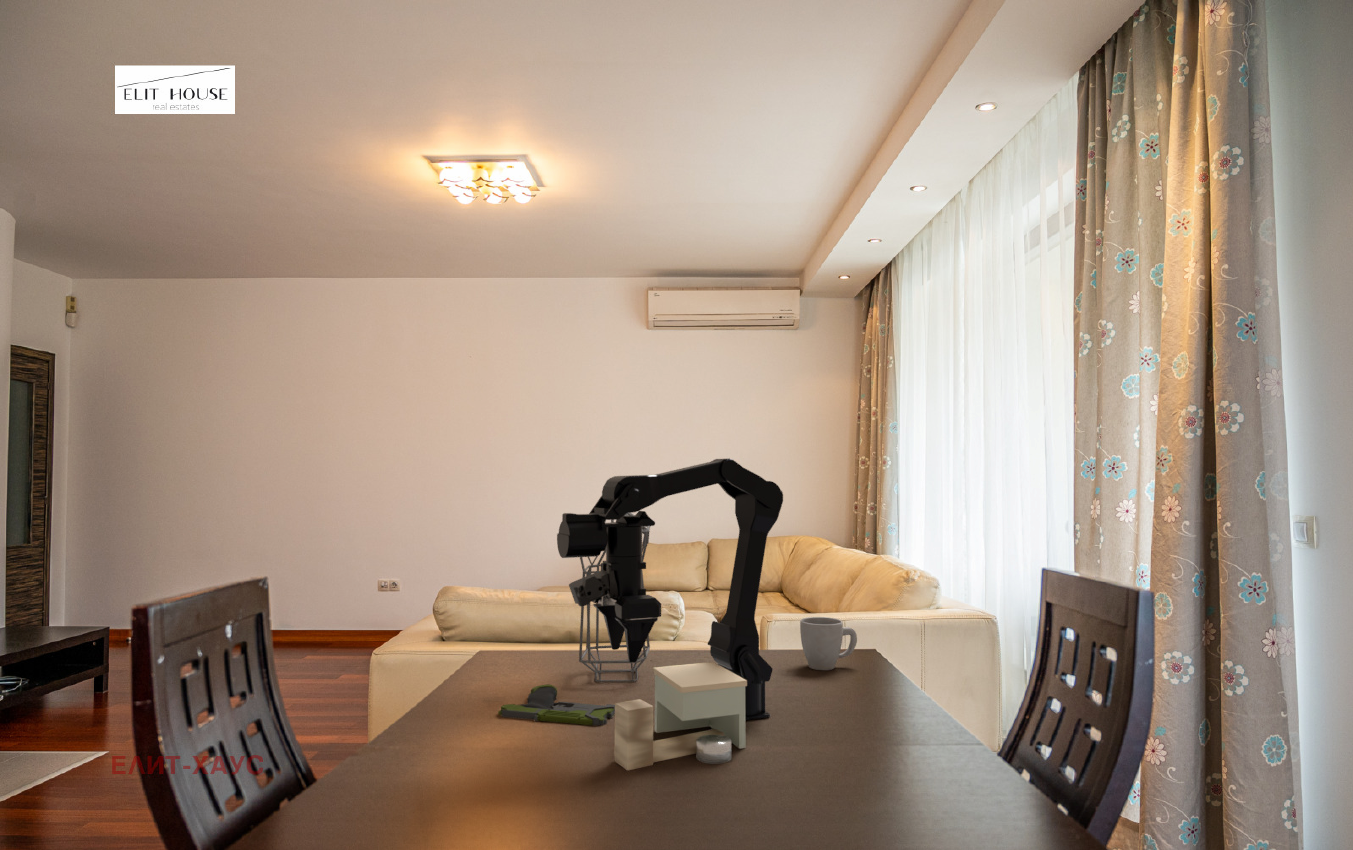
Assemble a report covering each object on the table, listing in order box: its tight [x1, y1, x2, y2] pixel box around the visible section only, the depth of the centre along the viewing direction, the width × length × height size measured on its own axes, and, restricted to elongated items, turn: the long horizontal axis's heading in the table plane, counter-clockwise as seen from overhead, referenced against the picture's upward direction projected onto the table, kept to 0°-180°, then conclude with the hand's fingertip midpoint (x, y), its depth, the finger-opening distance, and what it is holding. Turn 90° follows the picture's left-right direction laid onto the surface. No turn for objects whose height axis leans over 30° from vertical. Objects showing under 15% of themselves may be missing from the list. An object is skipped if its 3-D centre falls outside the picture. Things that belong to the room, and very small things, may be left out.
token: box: [695, 735, 732, 765], centre depth 111 cm, size 5×5×2 cm
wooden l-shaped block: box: [614, 698, 724, 771], centre depth 112 cm, size 16×4×8 cm, turn 121°
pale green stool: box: [652, 661, 747, 750], centre depth 119 cm, size 10×12×10 cm
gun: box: [497, 684, 615, 727], centre depth 134 cm, size 2×19×15 cm
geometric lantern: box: [578, 512, 652, 683], centre depth 156 cm, size 16×16×35 cm
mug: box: [799, 616, 858, 671], centre depth 163 cm, size 12×9×10 cm
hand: (623, 655), depth 122 cm, fingers open, 9 cm apart
